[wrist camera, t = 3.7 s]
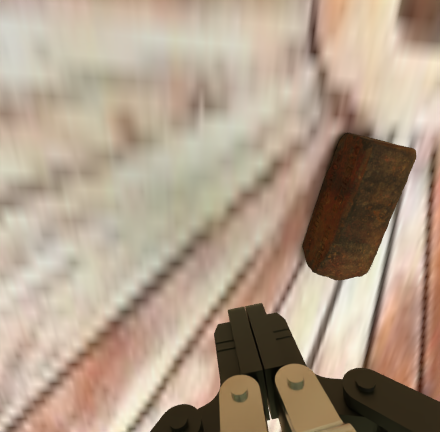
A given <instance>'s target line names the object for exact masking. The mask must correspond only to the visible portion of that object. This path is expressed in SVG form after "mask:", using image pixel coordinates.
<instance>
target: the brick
mask: <svg viewBox="0 0 440 432" xmlns="http://www.w3.org/2000/svg"><path fill="white" fill-rule="evenodd" d="M415 159H416V150H415V149H413V148H409V147H404V146H400V145H396V144H392V143H388V142H385V141H381V140H377V139H373V138H369V137H364V136H360V135H356V134H351V133H346V134H344V136H343V137H342V138H341V139H340V141H339V143H338V147H337V149H336V151H335V155H334V159H333V162H332V164H331V166H330V168H329V170H328V172H327V173H326V177H325V180H324V183H323V186H322V189H321V192H320V194H319V198H318V201H317V204H316V207H315V210H314V213H313V216H312V219H311V222H310V225H309V228H308V231H307V234H306V237H305V240H304V243H303V249H304V252H305V258H306V262H307V265H308V267H310V268H311V270H312V272H314V273H317V274H318V275H322V276H326V277H329V278H331V279H334V280H345V279H349V278H353V277H360V276H363V275H364V274H366V273H367V272H368V271H369V269H370V267H371V265H372V263H373V260H374V258H375V256H376V254H377V251H378V248H379V246H380V244H381V242H382V238H383V236H384V233H385V231H386V229H387V227H388V224H389V221H390V219H391V216H392V214H393V212H394V210H395V207H396V205H397V202H398V199H399V197H400V196H401V194H402V190H403V189H404V186H405V184H406V182H407V179H408V176H409V174H410V171H411V169H412V167H413V164H414V162H415Z"/></svg>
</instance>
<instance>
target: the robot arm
mask: <svg viewBox="0 0 440 432" xmlns="http://www.w3.org/2000/svg"><path fill="white" fill-rule="evenodd" d="M245 309H246V311H245ZM228 314H229V320H230V322H228V323H223V324H218V325H217V328H216V330H215V333H214V337H215V344H216V351H217V359H218V367H219V374H220V383H221V385H220V390H219V392H218V394H217V395H216V397H215V398H214V399H213V400H212V401H211V402H210V403H208V404H206V405H205V406H203V407H201V408H199V409H196V408H195V407H193V406H191V405H187V404H182V405H177V406H174V407H172V408H171V409H169V410H168V411H167V412H165V414H164V415H163V416H162V417H161V418H160V420H159V421H158V422H157V424H156V425H155V426H154V427H153V429H152V430H151V431H150V432H268V425H267V420H270V416H269V411H270V414H271V418H272V419H276V418H279V422H280V425H281V429H282V432H440V402H439V401H437V400H434V399H432V398H430V397H428V396H426V395H424V394H422V393H420V392H418V391H415V390H413V389H411V388H409V387H407V386H405V385H403V384H401V383H399V382H396V381H394V380H392V379H390V378H388V377H386V376H384V375H382V374H380V373H377V372H375V371H373V370H370V369H366V368H355V369H352V370H350V371H348V372H347V373H346V374H345V375H344V377H343V379H331V378H325V377H321V376H318V375H316V374H315V373H314V372H313V371H312V370H311V369H309V368H308V367H307V366H306V364H305V362H304V360H303V358H302V355H301V353H300V351H299V349H298V347H297V345H296V342H295V340H294V338H293V336H292V334H291V331H290V330H289V327H288V325H287V323H286V320H285V319H284V318H283V317H282V316H280V315H279V314H278V313H272V314H267V315H266V312H265V309H264V307H263V304H262V303H259V304H254V305H249V306H245V308H244V307H240V308H235V309H230V310H228ZM268 407H269V409H268Z"/></svg>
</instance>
